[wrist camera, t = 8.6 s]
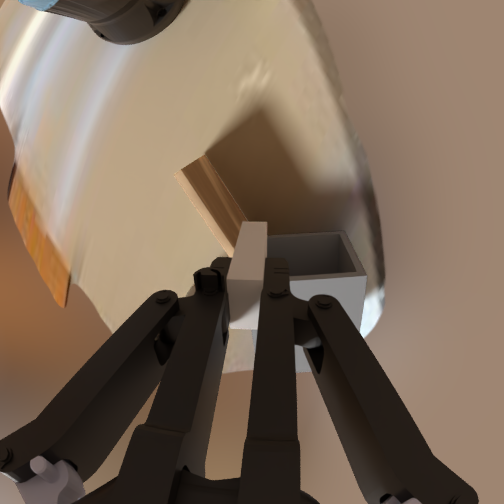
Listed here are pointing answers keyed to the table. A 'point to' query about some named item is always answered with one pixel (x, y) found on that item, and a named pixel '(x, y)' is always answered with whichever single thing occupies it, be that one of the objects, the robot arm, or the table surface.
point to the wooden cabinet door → (212, 201)
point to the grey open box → (321, 273)
